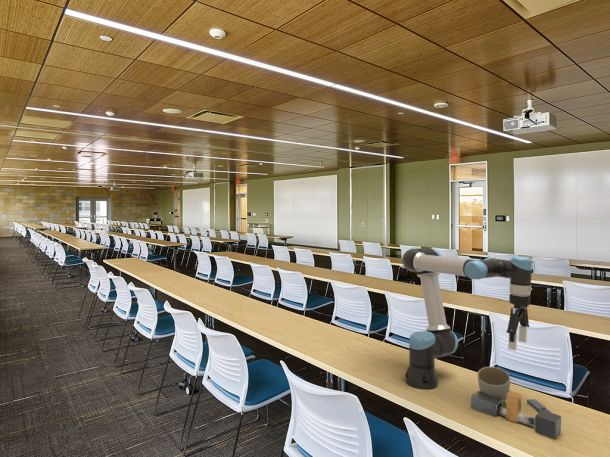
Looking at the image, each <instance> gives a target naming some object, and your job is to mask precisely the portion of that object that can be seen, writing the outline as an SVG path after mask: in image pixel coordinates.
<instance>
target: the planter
mask: <svg viewBox="0 0 610 457" xmlns="http://www.w3.org/2000/svg"><path fill="white" fill-rule="evenodd" d="M477 383H478V388H479V391H480V392H483V393H485V394H487V395H490V396H494V397H498V398H501V399H503V403H504V402H507V393H509V392H510V391H511V376H510V374H509V373H508V372H507V371H506V370H504V369H502V368H500V367H497V366H485V367H482V368H480V369H479V370H478V372H477Z"/></svg>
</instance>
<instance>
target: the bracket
mask: <svg viewBox="0 0 610 457" xmlns="http://www.w3.org/2000/svg"><path fill="white" fill-rule="evenodd" d="M526 403H527V405H529V406H530V407H531V408H533V410H535V411H536V412H537V413H538V412H539V411H540V410H544V411H547V412H550V413H552V411H551V410H550V409H549V408H547V407H546V406H544V404H542V403H541V402H539V400H538V399H533V398H531V399H526Z"/></svg>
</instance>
